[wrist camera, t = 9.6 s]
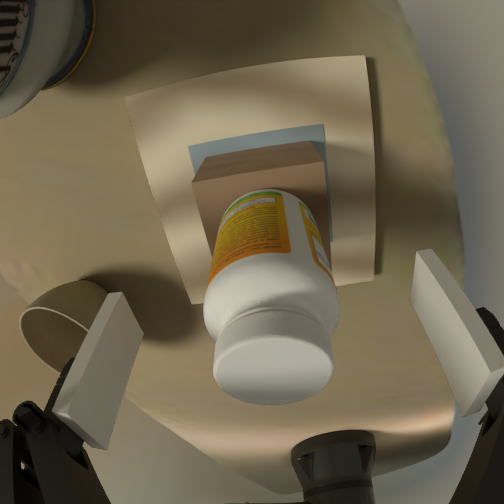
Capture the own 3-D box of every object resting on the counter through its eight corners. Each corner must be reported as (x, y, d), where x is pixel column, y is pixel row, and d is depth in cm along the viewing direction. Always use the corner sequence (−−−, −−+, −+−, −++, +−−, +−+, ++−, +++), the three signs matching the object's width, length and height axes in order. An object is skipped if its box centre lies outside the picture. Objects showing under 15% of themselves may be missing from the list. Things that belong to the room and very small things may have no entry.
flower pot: (133, 267, 27) (104, 324, 21) (139, 340, 33) (122, 394, 27) (43, 250, 26) (5, 296, 20) (61, 322, 32) (36, 368, 26)
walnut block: (319, 231, 24) (331, 271, 19) (227, 245, 24) (220, 286, 20) (309, 140, 20) (323, 161, 16) (205, 157, 21) (191, 183, 17)
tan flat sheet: (370, 273, 27) (373, 280, 26) (193, 297, 29) (191, 305, 28) (360, 55, 18) (365, 55, 17) (130, 96, 19) (124, 98, 18)
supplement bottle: (206, 251, 19) (173, 394, 11) (242, 170, 16) (224, 294, 8) (288, 281, 20) (302, 423, 12) (332, 210, 17) (388, 346, 9)
